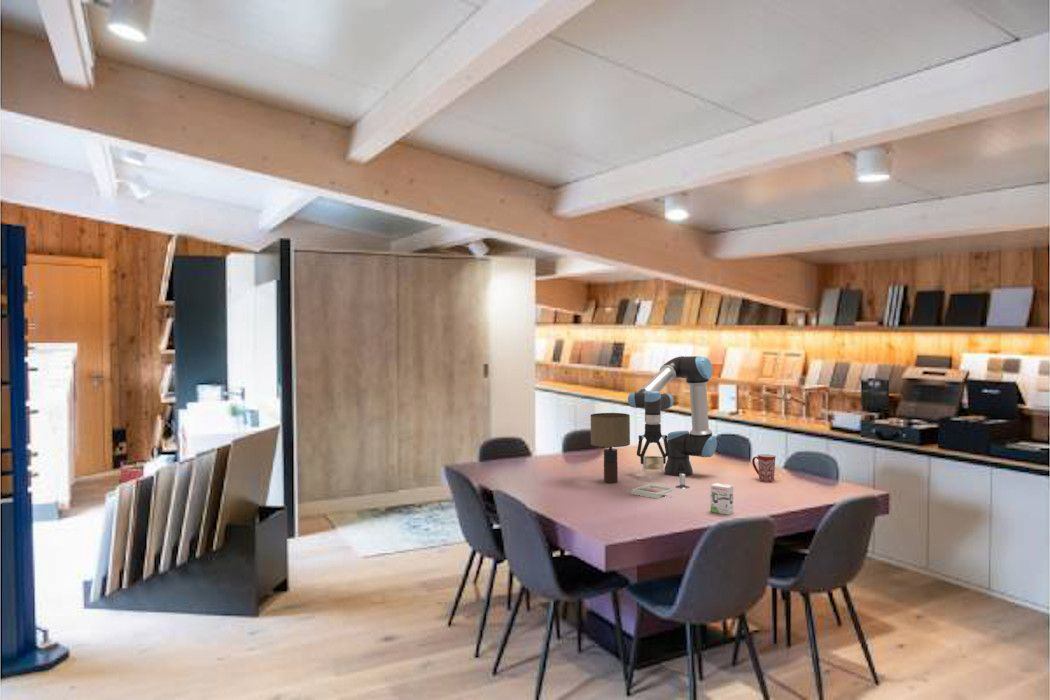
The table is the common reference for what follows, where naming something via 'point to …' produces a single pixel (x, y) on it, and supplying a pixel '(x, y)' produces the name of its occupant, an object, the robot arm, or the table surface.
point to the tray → (651, 494)
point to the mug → (765, 467)
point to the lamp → (610, 439)
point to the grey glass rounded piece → (682, 482)
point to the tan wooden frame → (653, 463)
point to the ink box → (722, 498)
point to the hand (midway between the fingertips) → (653, 470)
